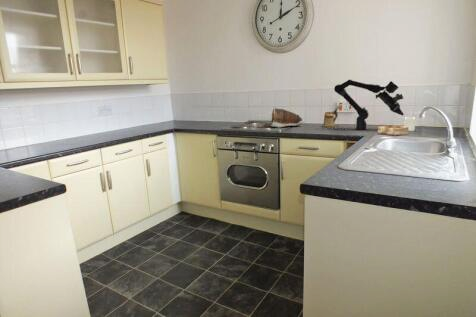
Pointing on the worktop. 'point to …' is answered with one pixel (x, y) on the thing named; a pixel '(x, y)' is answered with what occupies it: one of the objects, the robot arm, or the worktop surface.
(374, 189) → the worktop surface
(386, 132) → the pine crate
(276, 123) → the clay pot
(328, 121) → the wooden mug
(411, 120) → the white crate
